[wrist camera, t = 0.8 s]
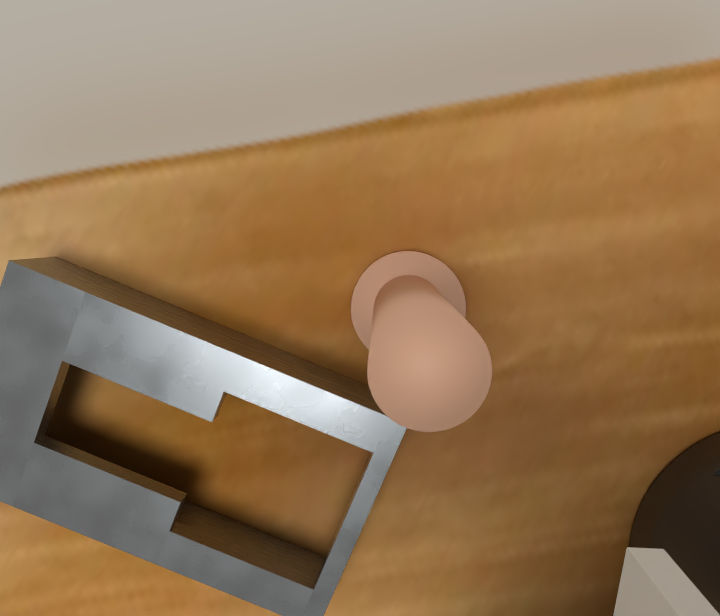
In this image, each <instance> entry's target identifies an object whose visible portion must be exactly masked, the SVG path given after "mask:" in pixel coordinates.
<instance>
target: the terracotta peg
mask: <svg viewBox="0 0 720 616" xmlns="http://www.w3.org/2000/svg"><path fill="white" fill-rule="evenodd" d="M465 316H466V300H465V295H464V292H463V289H462V286H461V284H460V282H459V280H458V278H457V277H456V275H455V274H454V273H453V272H452V271H451V269H450V268H449V267H447V266H446V265H445V264H444V263H443V262H441V261H440V260H438V259H436V258H434V257H432V256H430V255H428V254H425V253H422V252H417V251H398V252H393V253H390V254H387V255H385V256H383V257H381V258H379V259H378V260H376V261H375V262H373V263H372V264H371V265H370V266H369V267H368V268H367V269H366V270H365V271H364V272H363V274H362V275H361V277H360V278H359V280H358V282H357V284H356V287H355V289H354V292H353V296H352V301H351V317H352V322H353V326H354V328H355V331H356V333H357V335H358V337H359V339H360V340H361V342H362V343H363V344H364V345H365V347H366V348H367V349H368V350H369V356H368V366H367V377H368V384H369V388H370V391H371V394H372V396H373V398H374V400H375V402H376V403H377V405H378V406H379V408H380V409H381V410H382V411H383V412H384V414H385V415H387V416H388V417H389V418H390V419H391V420H393V421H394V422H396V423H397V424H399V425H401V426H403V427H406V428H409V429H412V430H416V431H421V432H437V431H443V430H447V429H450V428H453V427H455V426H457V425H459V424H461V423H463V422H464V421H466V420H467V419H469V418H470V417H471V416H472V415H473V414H474V413H475V412H476V411H477V410H478V409H479V407H480V406H481V405H482V403H483V402H484V400H485V398H486V396H487V394H488V391H489V388H490V384H491V379H492V363H491V357H490V354H489V351H488V348H487V346H486V344H485V342H484V340H483V339H482V337H481V336H480V334H479V333H478V332H477V331H476V330H475V329H474V328H473V327H472V325H471V324H470V323H469V322H468V321H467V320H466V319H465Z"/></svg>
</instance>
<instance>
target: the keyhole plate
mask: <svg viewBox="0 0 720 616" xmlns="http://www.w3.org/2000/svg"><path fill="white" fill-rule="evenodd" d="M70 364H71V365H74V366H76V367H79V368H81V369H84V370H86V371H88V372H91V373H93V374H96V375H98V376H101V377H103V378H106V379H108V380H110V381H113V382H115V383H118V384H120V385H123V386H125V387H127V388H130V389H132V390H135V391H137V392H140V393H142V394H145V395H147V396H149V397H152V398H154V399H157V400H159V401H162V402H164V403H167V404H169V405H171V406H174V407H176V408H179V409H181V410H184V411H186V412H189V413H191V414H193V415H196V416H198V417H201V418H203V419H206V420H208V421H211V422H212V421H213V420H214V419H215V418H216V417H217V416H218V414H219V411H220V408H221V406H222V403H223V401H224V398H225V396H226V393H229V394H231V395H234V396H236V397H238V398H241V399H243V400H246V401H248V402H251V403H253V404H255V405H258V406H260V407H263V408H265V409H268V410H270V411H273V412H275V413H277V414H280V415H282V416H285V417H287V418H290V419H292V420H294V421H297V422H299V423H302V424H304V425H307V426H309V427H311V428H314V429H316V430H319V431H321V432H324V433H326V434H329V435H331V436H333V437H336V438H338V439H341V440H343V441H346V442H348V443H350V444H353V445H355V446H358V447H360V448H363V449H365V450H368V451H370V452H371V453H370V456H369V458H368V460H367V463H366V465H365V467H364V469H363V472H362V474H361V476H360V479H359V481H358V483H357V485H356V488H355V490H354V492H353V495H352V497H351V499H350V501H349V504H348V506H347V508H346V511H345V513H344V515H343V518H342V520H341V522H340V524H339V527H338V529H337V531H336V534H335V536H334V538H333V540H332V543H331V545H330V547H329V550H328V552H327V554H326V556H325V557H323V556H321V555H318V554H316V553H313V552H311V551H308V550H306V549H303V548H301V547H299V546H296V545H294V544H291V543H289V542H286V541H284V540H281V539H279V538H276V537H274V536H271V535H269V534H267V533H264V532H262V531H259V530H257V529H254V528H252V527H249V526H247V525H244V524H242V523H240V522H237V521H235V520H232V519H230V518H227V517H225V516H222V515H220V514H217V513H215V512H213V511H210V510H208V509H205V508H203V507H200V506H198V505H195V504H193V503H190V502H188V501H185V498H186V495H187V493H185V492H182V491H180V490H177V489H175V488H173V487H170V486H168V485H165V484H163V483H160V482H158V481H155V480H153V479H150V478H148V477H146V476H143V475H141V474H138V473H136V472H133V471H131V470H128V469H126V468H123V467H121V466H119V465H116V464H114V463H111V462H109V461H106V460H104V459H101V458H99V457H96V456H94V455H92V454H89V453H87V452H84V451H82V450H79V449H77V448H74V447H72V446H69V445H67V444H65V443H62V442H60V441H57V440H55V439H52V438H50V437H47V436H45V435H46V432H47V429H48V426H49V424H50V421H51V418H52V415H53V412H54V409H55V406H56V403H57V401H58V398H59V395H60V392H61V389H62V386H63V383H64V380H65V377H66V375H67V372H68V369H69V366H70ZM406 429H407V428H406V427H403V426H401V425H399V424H397V423H396V422H394V421H393V420H391V419H390V418H389V417H388V416H387V415H385V414H384V412H383V411H382V410H381V409H380V408H379V406H378V405H377V403H376V402H375V400H374V398H373V396H372V394H371V391H370V388H369V386H367V385H365V384H362V383H360V382H358V381H355V380H353V379H350V378H348V377H345V376H343V375H341V374H338V373H336V372H333V371H331V370H328V369H326V368H324V367H321V366H319V365H316V364H314V363H312V362H309V361H307V360H304V359H302V358H299V357H297V356H295V355H292V354H290V353H287V352H285V351H282V350H280V349H278V348H275V347H273V346H270V345H268V344H265V343H263V342H261V341H258V340H256V339H253V338H251V337H249V336H246V335H244V334H241V333H239V332H236V331H234V330H232V329H229V328H227V327H224V326H222V325H219V324H217V323H215V322H212V321H210V320H207V319H205V318H202V317H200V316H198V315H195V314H193V313H190V312H188V311H185V310H183V309H181V308H178V307H176V306H173V305H171V304H169V303H166V302H164V301H161V300H159V299H156V298H154V297H152V296H149V295H147V294H144V293H142V292H139V291H137V290H135V289H132V288H130V287H127V286H125V285H122V284H120V283H118V282H115V281H113V280H110V279H108V278H106V277H103V276H101V275H98V274H96V273H93V272H91V271H89V270H86V269H84V268H81V267H79V266H76V265H74V264H72V263H69V262H67V261H64V260H62V259H59V258H57V257H47V258H34V259H21V260H9V262H8V265H7V268H6V271H5V274H4V277H3V280H2V283H1V287H0V501H1V502H3V503H6V504H8V505H11V506H13V507H16V508H18V509H21V510H23V511H26V512H28V513H30V514H33V515H35V516H38V517H40V518H43V519H45V520H48V521H50V522H53V523H55V524H58V525H60V526H63V527H65V528H68V529H70V530H72V531H75V532H77V533H80V534H82V535H85V536H87V537H90V538H92V539H95V540H97V541H100V542H102V543H105V544H107V545H110V546H112V547H114V548H117V549H119V550H122V551H124V552H127V553H129V554H132V555H134V556H137V557H139V558H142V559H144V560H147V561H149V562H152V563H154V564H156V565H159V566H161V567H164V568H166V569H169V570H171V571H174V572H176V573H179V574H181V575H184V576H186V577H189V578H191V579H194V580H196V581H198V582H201V583H203V584H206V585H208V586H211V587H213V588H216V589H218V590H221V591H223V592H226V593H228V594H231V595H233V596H236V597H238V598H240V599H243V600H245V601H248V602H250V603H253V604H255V605H258V606H260V607H263V608H265V609H268V610H270V611H273V612H275V613H278V614H280V615H282V616H324V613H325V611H326V609H327V607H328V604H329V602H330V600H331V598H332V595H333V593H334V591H335V589H336V586H337V584H338V582H339V580H340V577H341V575H342V573H343V571H344V568H345V566H346V564H347V562H348V559H349V557H350V555H351V553H352V550H353V548H354V546H355V544H356V541H357V539H358V537H359V535H360V532H361V530H362V528H363V526H364V523H365V521H366V519H367V517H368V514H369V512H370V510H371V507H372V505H373V503H374V501H375V498H376V496H377V494H378V492H379V489H380V487H381V485H382V483H383V480H384V478H385V476H386V474H387V471H388V469H389V467H390V465H391V462H392V460H393V458H394V456H395V453H396V451H397V449H398V447H399V444H400V442H401V440H402V438H403V435H404V433H405V431H406Z"/></svg>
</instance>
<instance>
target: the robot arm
mask: <svg viewBox="0 0 720 616" xmlns="http://www.w3.org/2000/svg"><path fill="white" fill-rule="evenodd" d="M613 616H720V432H719V433H717V434H715V435H713V436H710V437H708V438H706V439H704V440H702V441H701V442H699V443H697V444H696V445H694V446H692V447H691V448H689V449H688V450H687V451H685V452H684V453H682V454H681V455H680V456H679V457H678V458H676V459H675V460H674V461H673V462H672V463H671V464H670V465H669V466H668V467H667V468H666V469H665V470H664V471H663V472H662V473H661V474H660V475H659V477H658V478H657V479H656V480H655V482H654V483H653V485H652V486H651V488H650V489H649V491H648V492H647V494H646V496H645V497H644V499H643V501H642V503H641V505H640V507H639V510H638V512H637V515H636V518H635V521H634V524H633V528H632V533H631V538H630V546H629V547H627V549H626V554H625V559H624V564H623V569H622V574H621V579H620V584H619V589H618V594H617V599H616V604H615V609H614V614H613Z"/></svg>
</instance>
